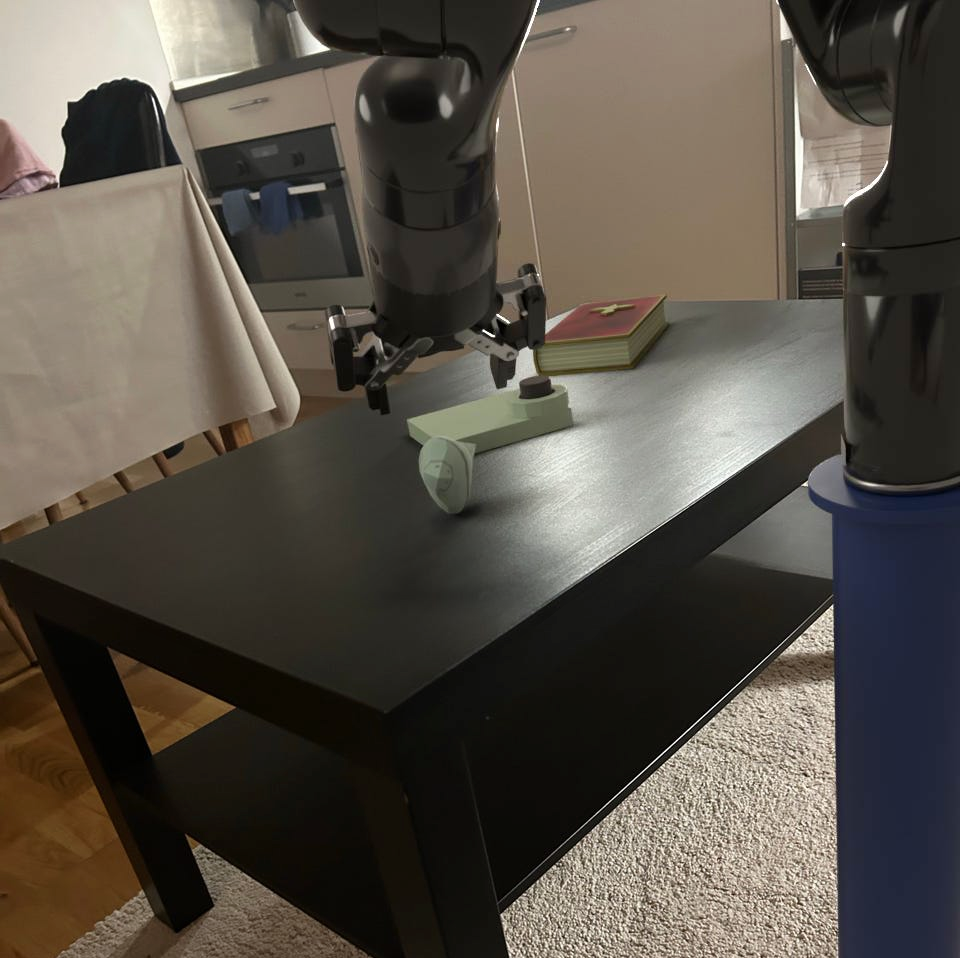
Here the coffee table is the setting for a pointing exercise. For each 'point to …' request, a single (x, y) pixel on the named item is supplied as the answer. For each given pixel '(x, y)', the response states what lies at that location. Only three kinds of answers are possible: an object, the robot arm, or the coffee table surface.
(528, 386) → the button
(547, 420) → the pale green flat block
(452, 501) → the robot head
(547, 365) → the hardcover book
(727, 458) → the coffee table surface
